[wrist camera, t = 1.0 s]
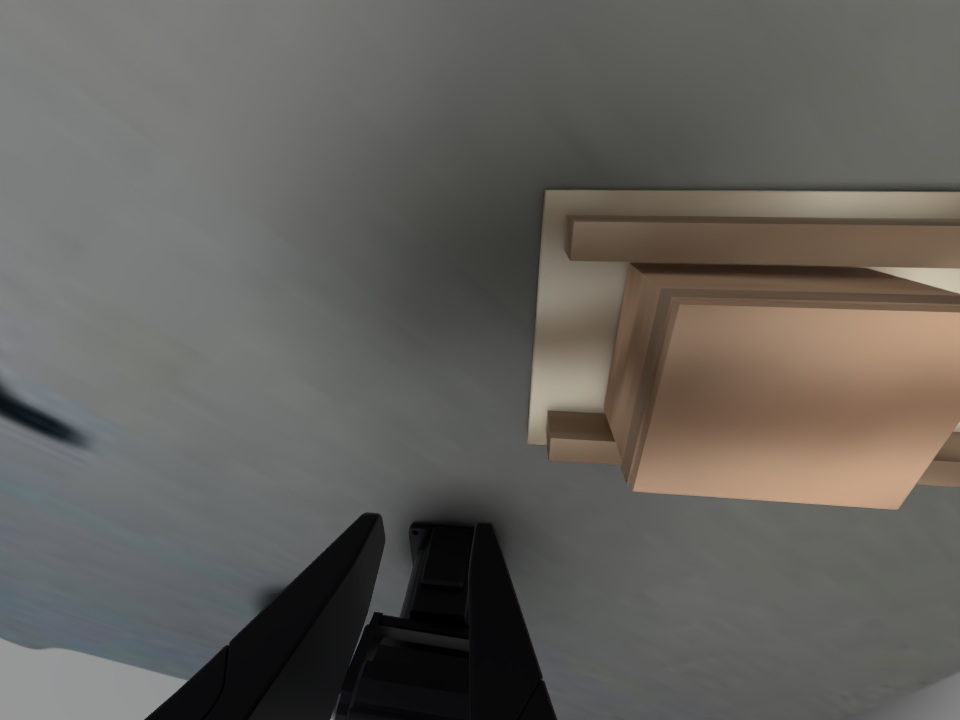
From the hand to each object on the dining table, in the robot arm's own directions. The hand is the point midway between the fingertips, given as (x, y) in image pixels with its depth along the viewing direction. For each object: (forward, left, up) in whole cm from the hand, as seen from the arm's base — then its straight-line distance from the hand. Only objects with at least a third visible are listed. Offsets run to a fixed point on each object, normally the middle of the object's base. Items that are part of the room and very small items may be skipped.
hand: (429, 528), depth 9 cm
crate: (0, -12, -12) cm, 17 cm away
